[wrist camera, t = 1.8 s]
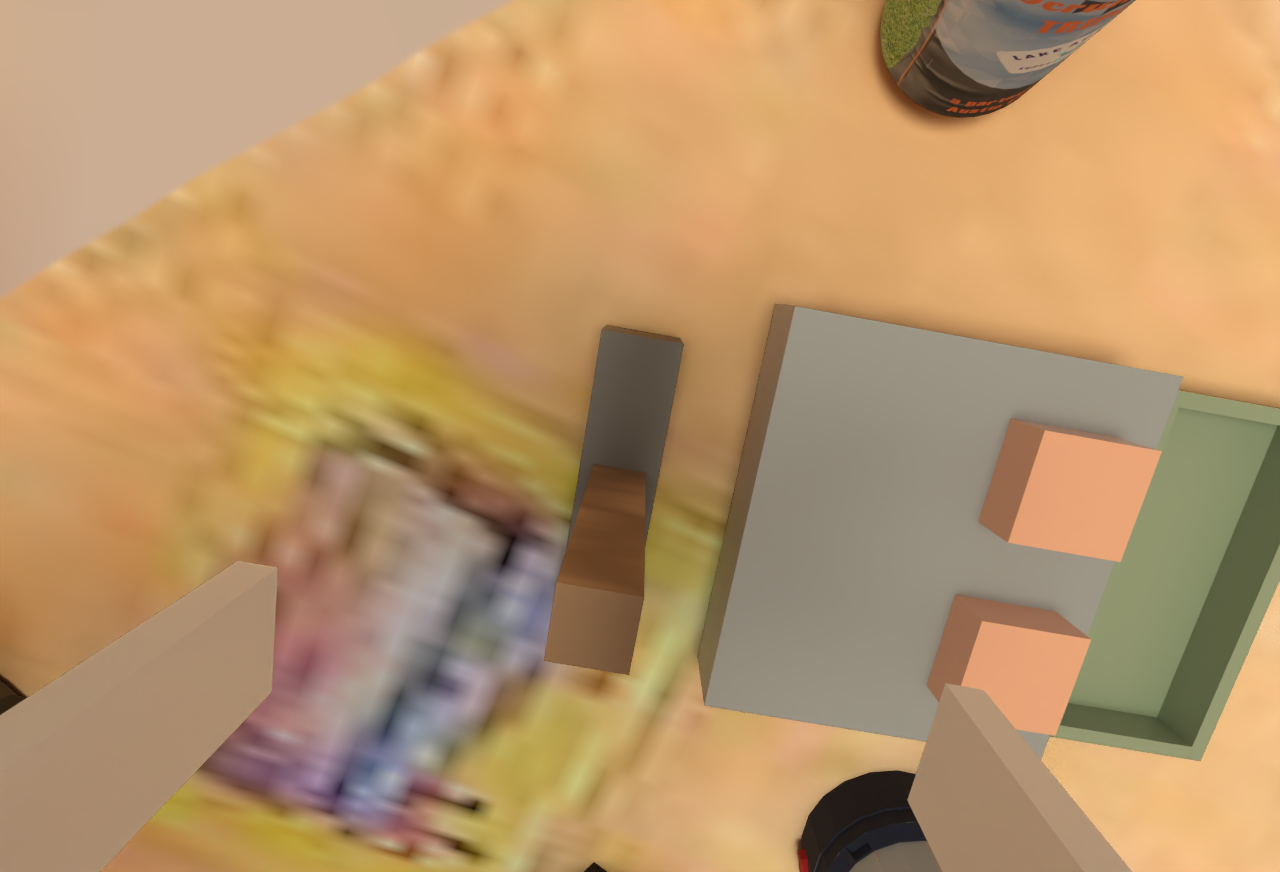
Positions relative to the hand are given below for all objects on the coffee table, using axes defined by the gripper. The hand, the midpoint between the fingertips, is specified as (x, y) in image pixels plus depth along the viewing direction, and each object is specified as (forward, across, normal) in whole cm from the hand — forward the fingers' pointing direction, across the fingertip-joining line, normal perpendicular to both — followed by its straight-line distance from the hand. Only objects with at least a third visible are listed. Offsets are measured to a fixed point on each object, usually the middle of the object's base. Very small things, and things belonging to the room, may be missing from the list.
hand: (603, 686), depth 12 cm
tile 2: (+12, +15, +3) cm, 19 cm away
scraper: (+15, 0, 0) cm, 15 cm away
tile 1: (+12, +15, -4) cm, 19 cm away
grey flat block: (+15, +11, 0) cm, 19 cm away
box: (+15, +22, 0) cm, 27 cm away
